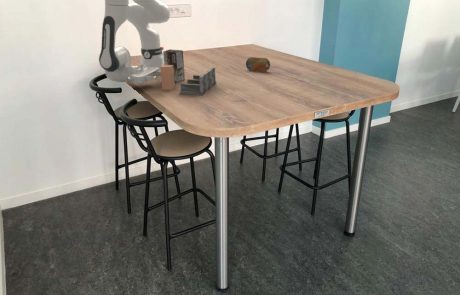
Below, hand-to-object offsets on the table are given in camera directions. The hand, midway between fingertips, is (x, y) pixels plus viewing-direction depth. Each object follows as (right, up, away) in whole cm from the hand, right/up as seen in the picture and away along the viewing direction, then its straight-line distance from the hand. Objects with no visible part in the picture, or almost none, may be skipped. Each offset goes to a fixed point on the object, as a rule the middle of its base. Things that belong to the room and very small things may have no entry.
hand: (159, 76), depth 190 cm
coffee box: (+5, +1, +18) cm, 19 cm away
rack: (+20, -6, +2) cm, 21 cm away
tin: (+53, +9, +34) cm, 64 cm away
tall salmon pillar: (+4, -6, +2) cm, 8 cm away
